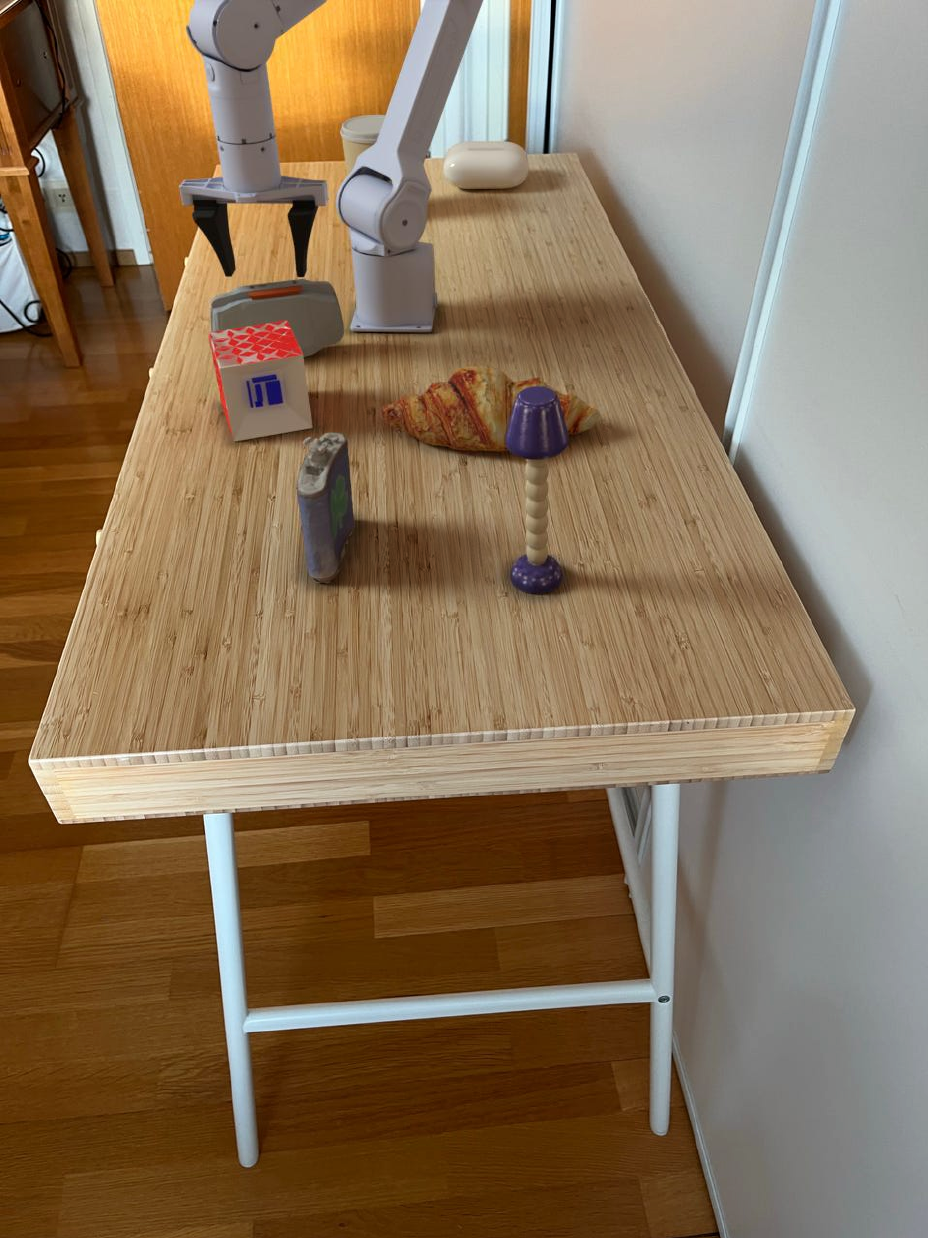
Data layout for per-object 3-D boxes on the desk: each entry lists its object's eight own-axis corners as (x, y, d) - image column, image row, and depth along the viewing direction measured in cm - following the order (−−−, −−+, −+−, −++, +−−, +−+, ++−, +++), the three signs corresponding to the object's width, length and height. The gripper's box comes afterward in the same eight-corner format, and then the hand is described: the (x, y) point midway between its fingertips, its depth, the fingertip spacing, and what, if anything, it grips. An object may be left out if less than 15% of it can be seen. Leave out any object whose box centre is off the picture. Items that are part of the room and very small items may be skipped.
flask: (334, 586, 80) (319, 474, 73) (299, 583, 81) (281, 471, 73) (359, 519, 87) (348, 411, 80) (327, 517, 87) (313, 409, 80)
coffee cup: (410, 224, 140) (405, 133, 132) (344, 224, 140) (336, 133, 132) (413, 201, 147) (409, 113, 139) (350, 201, 147) (343, 113, 139)
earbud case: (444, 172, 157) (443, 136, 153) (526, 172, 156) (527, 135, 153) (442, 194, 149) (441, 156, 145) (529, 194, 149) (530, 156, 145)
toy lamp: (518, 601, 78) (523, 416, 67) (493, 568, 82) (495, 386, 71) (571, 585, 80) (585, 401, 69) (545, 553, 83) (554, 372, 72)
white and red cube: (297, 391, 104) (287, 320, 99) (312, 427, 99) (303, 354, 93) (221, 404, 102) (207, 332, 97) (232, 442, 97) (218, 368, 92)
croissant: (590, 445, 102) (592, 365, 100) (607, 453, 92) (610, 364, 90) (385, 447, 101) (383, 366, 99) (379, 454, 92) (377, 365, 90)
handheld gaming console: (343, 341, 113) (336, 272, 108) (348, 353, 111) (341, 283, 105) (215, 358, 110) (202, 289, 105) (218, 370, 108) (204, 300, 103)
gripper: (160, 148, 93) (189, 288, 102) (313, 148, 92) (328, 289, 101) (180, 126, 98) (205, 261, 107) (325, 126, 98) (338, 262, 107)
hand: (266, 273), depth 105 cm, fingers open, 7 cm apart
